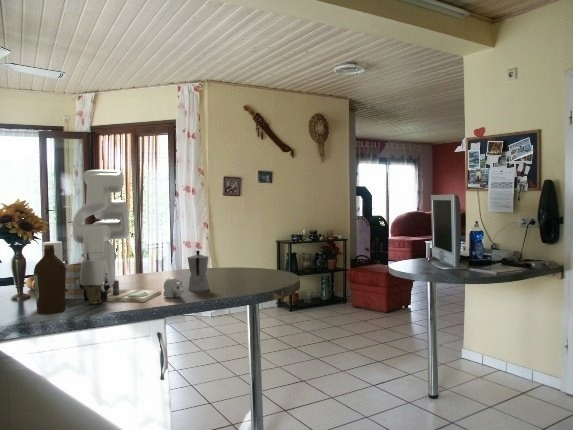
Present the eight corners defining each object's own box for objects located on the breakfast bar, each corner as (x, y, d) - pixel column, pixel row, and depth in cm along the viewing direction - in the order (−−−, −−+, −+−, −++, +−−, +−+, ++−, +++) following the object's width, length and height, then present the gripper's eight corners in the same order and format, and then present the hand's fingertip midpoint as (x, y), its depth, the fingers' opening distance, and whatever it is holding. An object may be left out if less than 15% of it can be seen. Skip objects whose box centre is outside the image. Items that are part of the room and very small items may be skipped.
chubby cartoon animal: (173, 301, 179) (172, 280, 179) (161, 297, 189) (160, 277, 188) (189, 299, 184) (189, 278, 184) (176, 294, 193) (176, 275, 193)
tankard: (80, 300, 186) (79, 264, 185) (57, 298, 190) (56, 263, 190) (114, 291, 204) (113, 258, 204) (92, 289, 209) (91, 257, 208)
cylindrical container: (48, 302, 182) (46, 241, 181) (66, 302, 183) (64, 241, 182) (40, 306, 175) (38, 243, 174) (59, 306, 176) (57, 242, 175)
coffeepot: (188, 287, 209) (188, 249, 209) (209, 286, 211) (208, 248, 210) (187, 294, 194) (186, 253, 194) (209, 292, 196) (208, 252, 195)
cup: (109, 301, 181) (108, 282, 181) (99, 306, 174) (99, 285, 174) (91, 301, 182) (91, 282, 182) (81, 306, 175) (81, 285, 175)
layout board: (98, 301, 183) (97, 282, 183) (119, 293, 199) (118, 276, 199) (143, 301, 180) (143, 283, 180) (161, 293, 196) (160, 276, 196)
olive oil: (67, 306, 174) (65, 243, 173) (66, 312, 164) (64, 245, 163) (36, 310, 169) (34, 244, 169) (33, 316, 160) (31, 247, 159)
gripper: (68, 257, 175) (70, 302, 176) (109, 257, 172) (110, 303, 173) (80, 255, 183) (81, 298, 183) (119, 255, 180) (120, 299, 180)
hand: (95, 300), depth 178 cm, fingers open, 6 cm apart
